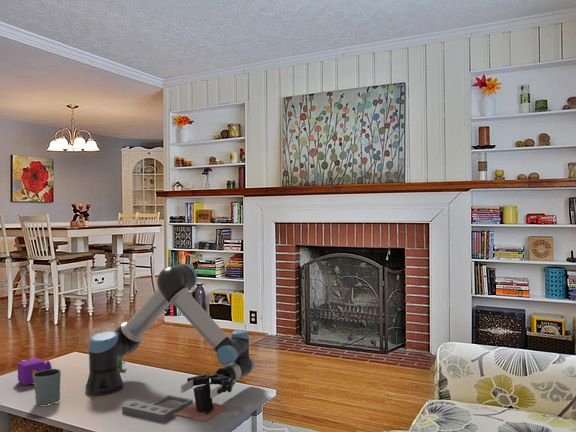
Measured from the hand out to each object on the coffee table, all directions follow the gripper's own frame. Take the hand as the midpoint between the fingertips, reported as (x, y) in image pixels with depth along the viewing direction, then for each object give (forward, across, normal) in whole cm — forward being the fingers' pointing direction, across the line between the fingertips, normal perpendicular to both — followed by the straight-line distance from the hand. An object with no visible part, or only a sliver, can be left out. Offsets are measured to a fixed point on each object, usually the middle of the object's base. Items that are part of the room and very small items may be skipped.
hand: (196, 391), depth 182 cm
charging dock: (0, +17, -8) cm, 19 cm away
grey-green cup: (+15, +63, -9) cm, 65 cm away
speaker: (-3, -1, -8) cm, 9 cm away
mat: (-3, 0, -8) cm, 9 cm away
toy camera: (0, +91, -9) cm, 91 cm away
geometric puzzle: (-27, +68, -9) cm, 74 cm away
